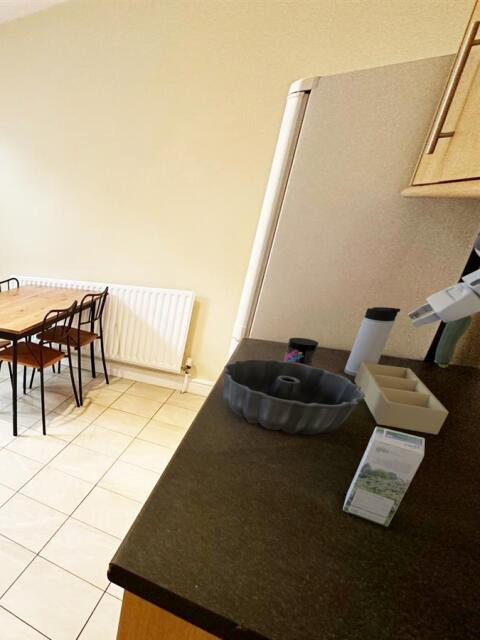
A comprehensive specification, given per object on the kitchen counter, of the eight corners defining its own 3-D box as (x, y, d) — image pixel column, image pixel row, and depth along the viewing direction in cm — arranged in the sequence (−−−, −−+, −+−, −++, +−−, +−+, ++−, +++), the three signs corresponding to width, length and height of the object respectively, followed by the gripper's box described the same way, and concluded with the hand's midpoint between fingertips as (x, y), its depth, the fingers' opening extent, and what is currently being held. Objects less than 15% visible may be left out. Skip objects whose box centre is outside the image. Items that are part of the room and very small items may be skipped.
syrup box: (390, 510, 69) (426, 436, 63) (387, 529, 66) (426, 452, 60) (346, 495, 73) (376, 424, 67) (341, 512, 69) (372, 438, 63)
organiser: (401, 387, 111) (410, 368, 109) (437, 434, 90) (448, 412, 88) (354, 380, 116) (361, 362, 114) (377, 424, 95) (386, 402, 92)
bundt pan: (383, 444, 87) (401, 402, 83) (258, 448, 87) (271, 406, 83) (292, 391, 111) (303, 357, 107) (194, 394, 111) (202, 360, 107)
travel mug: (363, 380, 117) (390, 310, 108) (338, 371, 122) (362, 305, 114) (379, 376, 118) (407, 308, 110) (353, 368, 124) (378, 303, 116)
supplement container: (278, 369, 126) (287, 336, 121) (305, 372, 122) (316, 339, 118) (280, 377, 120) (290, 343, 116) (309, 381, 117) (320, 346, 113)
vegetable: (427, 366, 124) (457, 300, 116) (428, 362, 126) (457, 297, 118) (449, 370, 121) (481, 302, 113) (450, 366, 123) (481, 300, 115)
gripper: (466, 271, 108) (400, 304, 118) (484, 284, 94) (407, 319, 104) (484, 290, 107) (415, 321, 117) (504, 305, 93) (424, 339, 103)
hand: (411, 320), depth 110 cm, fingers open, 8 cm apart
